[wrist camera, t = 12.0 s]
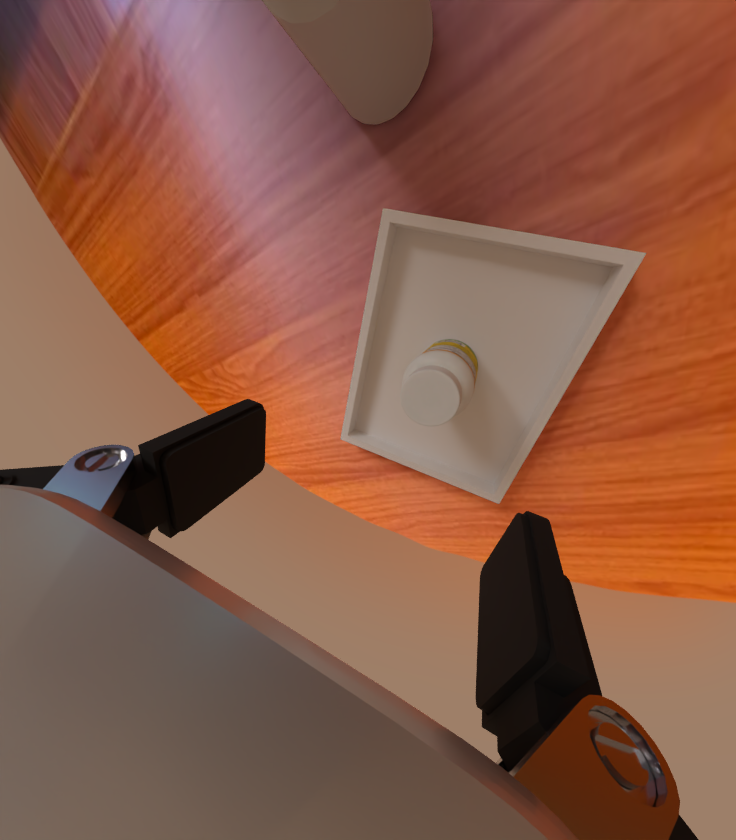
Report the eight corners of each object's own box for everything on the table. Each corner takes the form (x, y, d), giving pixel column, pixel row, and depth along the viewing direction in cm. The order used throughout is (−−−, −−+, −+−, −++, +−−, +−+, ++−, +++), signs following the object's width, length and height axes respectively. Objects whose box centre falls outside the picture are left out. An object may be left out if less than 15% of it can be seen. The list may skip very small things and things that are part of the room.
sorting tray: (392, 215, 24) (382, 208, 22) (629, 257, 20) (646, 253, 17) (349, 430, 34) (340, 439, 32) (498, 489, 30) (499, 504, 28)
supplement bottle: (458, 325, 25) (442, 340, 17) (490, 375, 25) (489, 413, 17) (409, 359, 28) (375, 386, 19) (439, 403, 28) (418, 447, 20)
